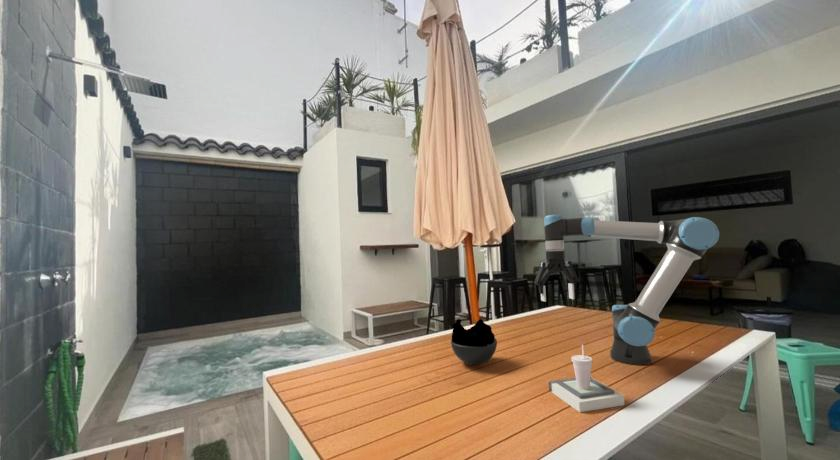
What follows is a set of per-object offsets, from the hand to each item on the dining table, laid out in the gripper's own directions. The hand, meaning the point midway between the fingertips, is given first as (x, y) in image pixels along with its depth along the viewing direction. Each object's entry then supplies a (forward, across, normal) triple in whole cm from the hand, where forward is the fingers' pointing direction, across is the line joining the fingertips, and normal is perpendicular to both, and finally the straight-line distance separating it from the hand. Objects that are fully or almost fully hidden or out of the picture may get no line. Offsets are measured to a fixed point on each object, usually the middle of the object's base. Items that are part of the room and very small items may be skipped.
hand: (557, 299), depth 145 cm
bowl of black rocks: (+27, +35, -11) cm, 45 cm away
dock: (+27, +12, +30) cm, 42 cm away
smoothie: (+24, +12, +30) cm, 40 cm away
